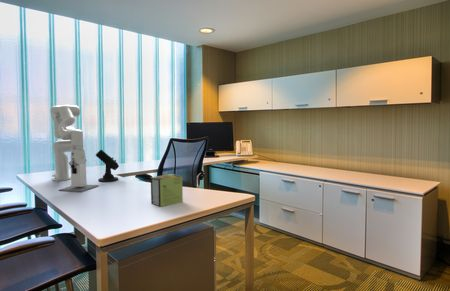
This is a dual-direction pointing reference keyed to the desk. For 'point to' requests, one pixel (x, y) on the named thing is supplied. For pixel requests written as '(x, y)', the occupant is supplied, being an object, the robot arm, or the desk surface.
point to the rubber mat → (79, 188)
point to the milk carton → (79, 176)
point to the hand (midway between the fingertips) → (78, 172)
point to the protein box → (166, 190)
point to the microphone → (107, 167)
